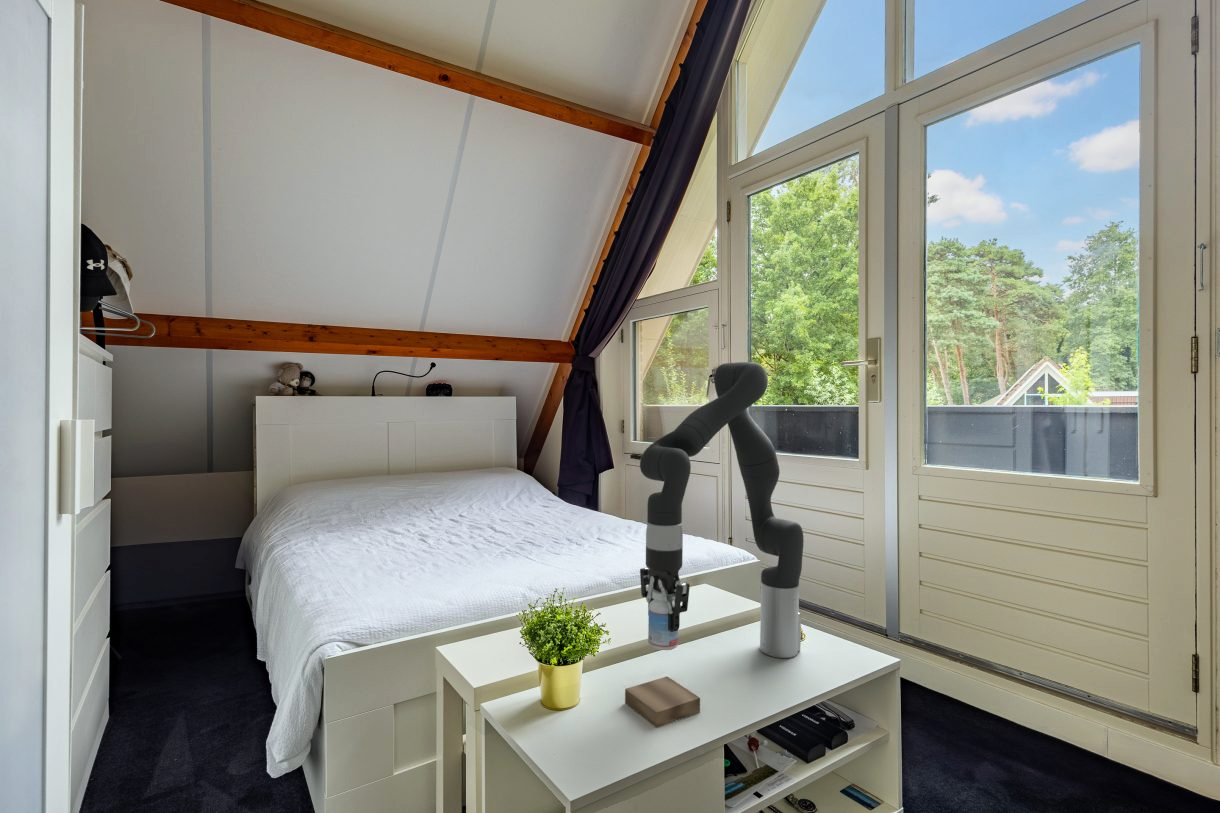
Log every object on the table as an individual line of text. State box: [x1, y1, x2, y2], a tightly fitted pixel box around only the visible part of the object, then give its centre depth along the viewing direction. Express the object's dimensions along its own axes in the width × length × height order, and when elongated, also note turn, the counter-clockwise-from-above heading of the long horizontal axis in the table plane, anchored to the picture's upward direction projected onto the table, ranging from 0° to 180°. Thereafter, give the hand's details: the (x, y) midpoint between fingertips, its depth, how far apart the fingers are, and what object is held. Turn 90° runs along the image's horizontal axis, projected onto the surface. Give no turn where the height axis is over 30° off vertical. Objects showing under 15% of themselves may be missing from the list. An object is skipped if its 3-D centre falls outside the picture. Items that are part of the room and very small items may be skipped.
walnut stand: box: [624, 676, 701, 728], centre depth 127 cm, size 11×11×3 cm
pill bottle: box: [647, 589, 679, 651], centre depth 126 cm, size 6×6×11 cm
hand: (663, 625), depth 126 cm, fingers closed on pill bottle, 6 cm apart
